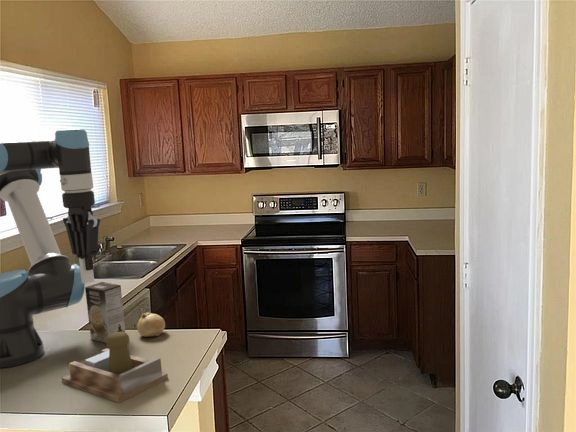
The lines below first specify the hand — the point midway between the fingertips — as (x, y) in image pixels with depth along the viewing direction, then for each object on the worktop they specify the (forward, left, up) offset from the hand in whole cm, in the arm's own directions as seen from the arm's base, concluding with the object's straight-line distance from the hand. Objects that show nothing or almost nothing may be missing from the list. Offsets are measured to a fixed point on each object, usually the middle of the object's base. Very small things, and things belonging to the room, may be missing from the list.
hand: (88, 281), depth 141 cm
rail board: (+14, -5, -22) cm, 26 cm away
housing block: (+10, -5, -20) cm, 23 cm away
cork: (+17, -5, -21) cm, 27 cm away
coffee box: (-13, +13, -22) cm, 29 cm away
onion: (-3, +21, -22) cm, 31 cm away
